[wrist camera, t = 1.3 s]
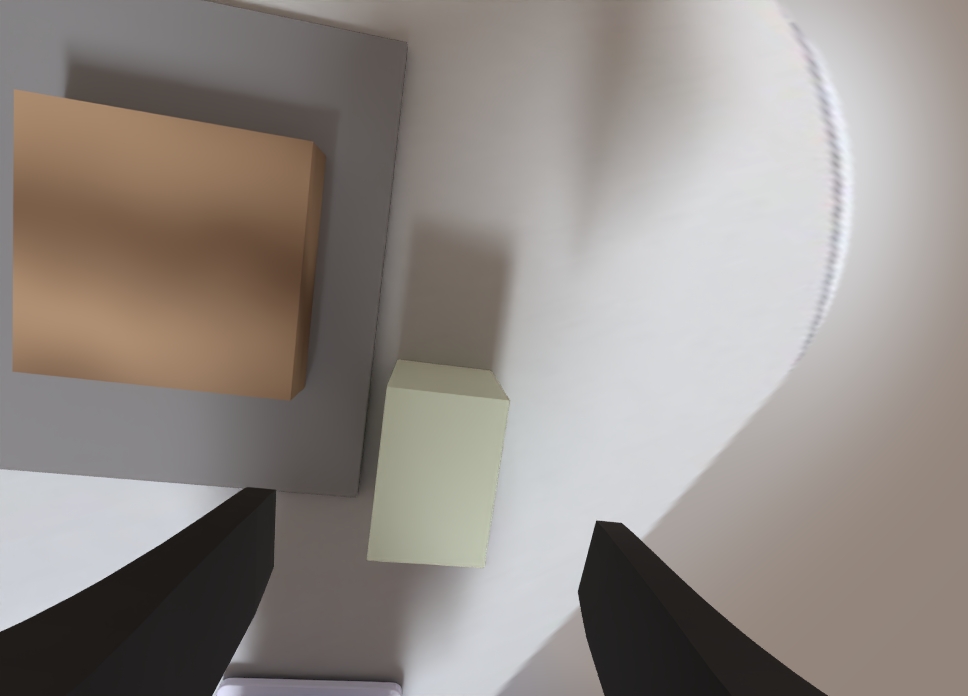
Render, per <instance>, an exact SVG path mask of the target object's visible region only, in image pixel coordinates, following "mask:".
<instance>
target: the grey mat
mask: <svg viewBox="0 0 968 696" xmlns="http://www.w3.org/2000/svg"><path fill="white" fill-rule="evenodd" d="M407 49H408V48H407V42H403V41H398V40H393V39H389V38H384V37H379V36H374V35H369V34H364V33H360V32H355V31H350V30H345V29H340V28H335V27H331V26H326V25H321V24H316V23H311V22H306V21H302V20H297V19H292V18H287V17H282V16H277V15H273V14H268V13H263V12H258V11H253V10H248V9H244V8H239V7H234V6H229V5H224V4H219V3H215V2H210V1H205V0H0V469H7V470H20V471H32V472H45V473H57V474H69V475H82V476H94V477H107V478H119V479H132V480H144V481H157V482H169V483H182V484H194V485H207V486H219V487H232V488H246V487H255V488H265V489H275V490H276V491H282V492H294V493H307V494H319V495H331V496H344V497H357V494H358V489H359V480H360V471H361V462H362V453H363V444H364V435H365V426H366V417H367V408H368V399H369V390H370V381H371V372H372V363H373V354H374V345H375V337H376V328H377V319H378V310H379V301H380V292H381V283H382V274H383V265H384V256H385V247H386V238H387V229H388V220H389V211H390V202H391V193H392V184H393V175H394V166H395V157H396V148H397V139H398V130H399V121H400V112H401V103H402V94H403V85H404V76H405V67H406V58H407ZM14 89H16V90H22V91H28V92H33V93H39V94H45V95H50V96H56V97H62V98H68V99H73V100H79V101H85V102H90V103H96V104H102V105H108V106H113V107H119V108H125V109H130V110H136V111H142V112H148V113H153V114H159V115H165V116H170V117H176V118H182V119H188V120H193V121H199V122H205V123H210V124H216V125H222V126H228V127H233V128H239V129H245V130H250V131H256V132H262V133H268V134H273V135H279V136H285V137H290V138H296V139H302V140H308V141H313V142H314V143H315V144H316V145H317V147H318V148H319V149H320V150H321V151H322V152H323V153H324V154H325V156H326V162H325V173H324V184H323V195H322V205H321V216H320V227H319V238H318V249H317V260H316V271H315V282H314V293H313V303H312V314H311V325H310V336H309V347H308V358H307V369H306V380H305V388H304V389H303V390H302V391H301V392H299V393H298V394H297V395H296V396H295V397H294V398H293V399H292V400H291V401H288V400H278V399H269V398H259V397H250V396H240V395H231V394H221V393H211V392H202V391H192V390H183V389H173V388H164V387H154V386H144V385H135V384H125V383H116V382H106V381H97V380H87V379H78V378H68V377H58V376H49V375H39V374H30V373H20V372H12V369H13V148H14Z"/></svg>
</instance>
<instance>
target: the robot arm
mask: <svg viewBox="0 0 968 696" xmlns="http://www.w3.org/2000/svg"><path fill="white" fill-rule="evenodd" d="M275 507H276V490H275V489H265V488H255V487H246V488H244V489H243V490H241V491H240V492H238V493H237V494H235V495H234V496H232V497H231V498H229V499H228V500H226V501H225V502H223V503H222V504H221V505H219V506H218V507H216V508H215V509H213V510H212V511H210V512H209V513H207V514H206V515H204V516H203V517H202V518H200V519H199V520H197V521H196V522H194V523H192V524H191V525H189V526H188V527H186V528H185V529H183V530H182V531H180V532H179V533H177V534H176V535H174V536H173V537H171V538H170V539H168V540H167V541H165V542H164V543H162V544H161V545H159V546H157V547H156V548H154V549H152V550H151V551H149V552H147V553H146V554H144V555H142V556H141V557H139V558H138V559H136V560H134V561H133V562H131V563H129V564H128V565H126V566H124V567H123V568H121V569H119V570H118V571H116V572H114V573H113V574H111V575H109V576H108V577H106V578H104V579H103V580H101V581H99V582H97V583H95V584H94V585H92V586H90V587H88V588H86V589H85V590H83V591H81V592H79V593H77V594H75V595H74V596H72V597H70V598H68V599H66V600H64V601H62V602H60V603H58V604H56V605H54V606H52V607H50V608H49V609H47V610H45V611H43V612H41V613H39V614H37V615H35V616H33V617H31V618H29V619H27V620H25V621H23V622H21V623H19V624H16V625H14V626H12V627H10V628H8V629H6V630H3V631H1V632H0V696H212V695H213V693H214V691H215V689H216V687H217V685H218V684H219V682H220V680H221V678H222V676H223V674H224V672H225V670H226V669H227V667H228V665H229V663H230V661H231V659H232V657H233V655H234V654H235V652H236V650H237V648H238V646H239V644H240V642H241V640H242V638H243V636H244V635H245V633H246V631H247V629H248V627H249V625H250V623H251V621H252V619H253V617H254V615H255V613H256V611H257V608H258V606H259V603H260V601H261V598H262V596H263V593H264V591H265V588H266V586H267V583H268V580H269V578H270V575H271V573H272V570H273V567H274V539H275ZM578 595H579V601H580V607H581V612H582V617H583V623H584V628H585V633H586V638H587V641H588V644H589V648H590V651H591V654H592V657H593V661H594V664H595V667H596V670H597V673H598V677H599V680H600V683H601V686H602V689H603V692H604V695H605V696H828V695H826V694H825V693H823V692H821V691H820V690H819V689H817V688H816V687H814V686H813V685H811V684H810V683H809V682H807V681H806V680H804V679H803V678H802V677H800V676H799V675H797V674H796V673H795V672H793V671H792V670H790V669H789V668H788V667H786V666H785V665H784V664H783V663H781V662H780V661H779V660H777V659H776V658H775V657H773V656H772V655H771V654H769V653H768V652H767V651H765V650H764V649H763V648H761V647H760V646H759V645H757V644H756V643H755V642H754V641H752V640H751V639H750V638H749V637H747V636H746V635H745V634H744V633H742V632H741V631H740V630H739V629H738V628H736V627H735V626H734V625H733V624H732V623H731V622H729V621H728V620H727V619H726V618H725V617H724V616H722V615H721V614H720V613H719V612H718V611H716V610H715V609H714V608H713V607H712V606H711V605H710V604H708V603H707V602H706V601H705V600H704V599H703V598H702V597H700V596H699V595H698V594H697V593H696V592H695V591H694V590H693V589H692V588H691V587H690V586H688V585H687V584H686V583H685V582H684V581H683V580H682V579H681V578H680V577H679V576H678V575H677V574H676V573H675V572H674V571H672V570H671V569H670V568H669V567H668V566H667V565H666V564H665V563H664V562H663V561H662V560H661V559H660V558H659V557H658V556H657V555H656V554H655V553H654V552H653V551H652V550H651V549H649V548H648V547H647V546H646V545H645V544H644V543H643V542H642V541H641V540H640V539H639V538H638V537H637V536H636V535H635V534H634V533H633V532H631V531H630V530H629V529H628V528H627V527H626V526H625V525H623V524H622V523H616V522H606V521H596V524H595V527H594V531H593V535H592V539H591V543H590V547H589V551H588V554H587V558H586V562H585V566H584V570H583V574H582V578H581V582H580V585H579V589H578ZM216 696H402V689H401V687H400V685H398V684H397V683H393V682H362V681H328V680H295V679H262V678H227V679H225V680H223V681H222V683H221V684H220V686H219V688H218V690H217V693H216Z"/></svg>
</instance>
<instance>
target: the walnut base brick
mask: <svg viewBox="0 0 968 696" xmlns="http://www.w3.org/2000/svg"><path fill="white" fill-rule="evenodd" d="M325 162H326V156H325V154H324V153H323V152H322V151H321V150H320V149H319V148H318V147H317V145H316V144H315V143H314V142H313V141H308V140H302V139H296V138H290V137H285V136H279V135H273V134H268V133H262V132H256V131H250V130H245V129H239V128H233V127H228V126H222V125H216V124H210V123H205V122H199V121H193V120H188V119H182V118H176V117H170V116H165V115H159V114H153V113H148V112H142V111H136V110H130V109H125V108H119V107H113V106H108V105H102V104H96V103H90V102H85V101H79V100H73V99H68V98H62V97H56V96H50V95H45V94H39V93H33V92H28V91H22V90H16V89H14V148H13V369H12V372H20V373H30V374H39V375H49V376H58V377H68V378H78V379H87V380H97V381H106V382H116V383H125V384H135V385H144V386H154V387H164V388H173V389H183V390H192V391H202V392H211V393H221V394H231V395H240V396H250V397H259V398H269V399H278V400H288V401H291V400H292V399H293V398H294V397H295V396H296V395H297V394H298V393H299V392H301V391H302V390H303V389H304V388H305V380H306V369H307V358H308V347H309V336H310V325H311V314H312V303H313V293H314V282H315V271H316V260H317V249H318V238H319V227H320V216H321V205H322V195H323V184H324V173H325Z"/></svg>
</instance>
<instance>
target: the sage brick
mask: <svg viewBox="0 0 968 696" xmlns="http://www.w3.org/2000/svg"><path fill="white" fill-rule="evenodd" d="M509 404H510V400H509V398H508V397H507V395H506V393H505V392H504V390H503V389H502V387H501V385H500V384H499V382H498V381H497V379H496V377H495V376H494V374H493V373H492V371H491V370H483V369H474V368H466V367H458V366H449V365H441V364H433V363H424V362H416V361H407V360H399V359H398V360H397V362H396V365H395V367H394V370H393V372H392V375H391V377H390V380H389V382H388V385H387V389H386V398H385V406H384V415H383V424H382V432H381V441H380V449H379V458H378V466H377V475H376V484H375V492H374V501H373V509H372V518H371V526H370V535H369V544H368V552H367V561H381V562H397V563H413V564H428V565H444V566H459V567H475V568H484V566H485V559H486V553H487V546H488V540H489V533H490V527H491V520H492V514H493V507H494V501H495V494H496V488H497V481H498V475H499V468H500V462H501V455H502V449H503V442H504V436H505V430H506V423H507V417H508V410H509Z"/></svg>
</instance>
